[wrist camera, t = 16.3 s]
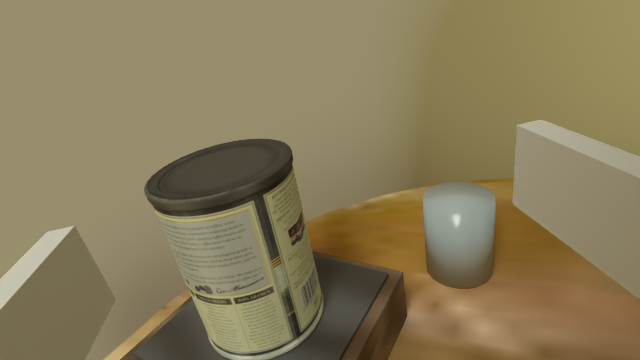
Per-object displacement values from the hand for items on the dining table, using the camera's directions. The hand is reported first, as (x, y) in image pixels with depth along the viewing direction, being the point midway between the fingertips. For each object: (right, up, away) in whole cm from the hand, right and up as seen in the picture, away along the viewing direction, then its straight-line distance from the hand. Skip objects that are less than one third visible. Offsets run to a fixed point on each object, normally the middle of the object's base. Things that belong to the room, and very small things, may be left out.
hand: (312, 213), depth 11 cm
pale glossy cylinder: (+16, -9, +30) cm, 35 cm away
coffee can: (-4, -11, +21) cm, 24 cm away
